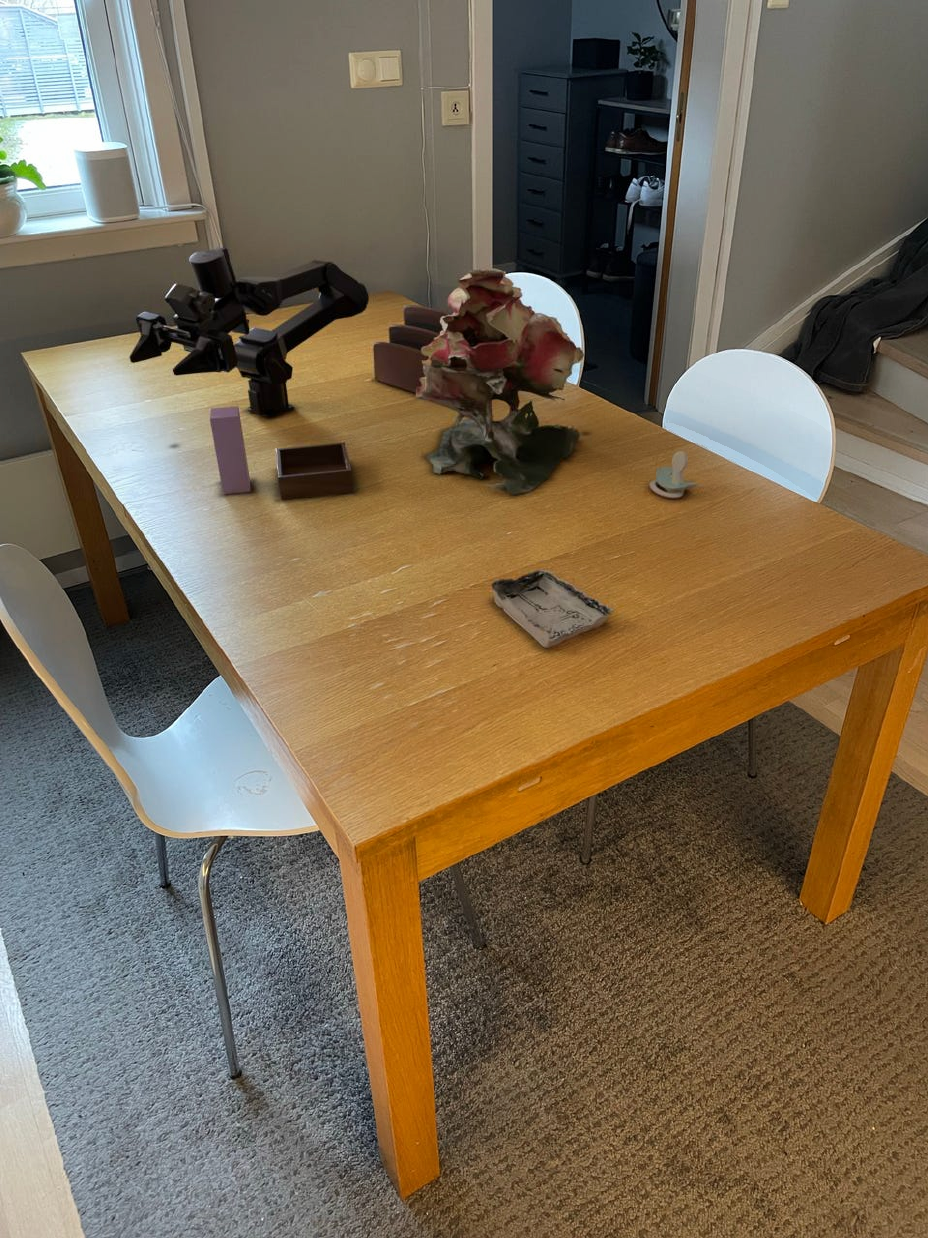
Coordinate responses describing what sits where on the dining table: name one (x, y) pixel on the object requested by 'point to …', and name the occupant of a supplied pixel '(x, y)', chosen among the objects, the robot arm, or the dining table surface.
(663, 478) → the pacifier
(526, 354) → the rose bouquet
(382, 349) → the letter holder
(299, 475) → the tray
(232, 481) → the block
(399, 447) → the dining table surface
